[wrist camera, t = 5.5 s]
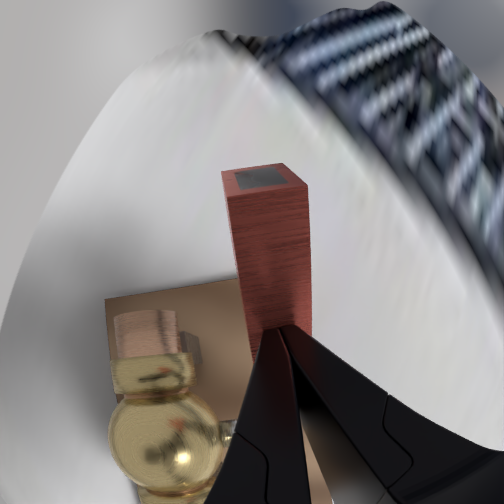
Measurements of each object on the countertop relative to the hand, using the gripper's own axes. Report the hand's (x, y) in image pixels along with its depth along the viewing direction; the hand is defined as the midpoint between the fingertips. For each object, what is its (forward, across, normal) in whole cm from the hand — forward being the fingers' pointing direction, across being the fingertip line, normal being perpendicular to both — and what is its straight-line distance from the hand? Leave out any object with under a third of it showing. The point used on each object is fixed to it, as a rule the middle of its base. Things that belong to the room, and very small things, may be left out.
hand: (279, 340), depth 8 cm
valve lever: (+1, 0, +7) cm, 7 cm away
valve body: (+5, +4, +10) cm, 12 cm away
